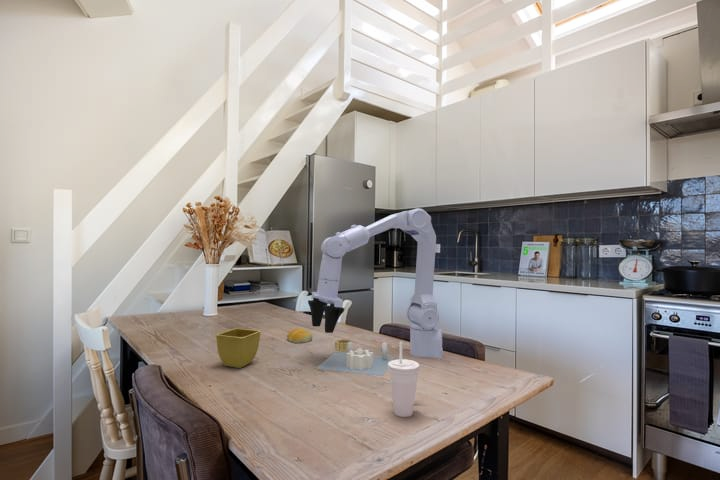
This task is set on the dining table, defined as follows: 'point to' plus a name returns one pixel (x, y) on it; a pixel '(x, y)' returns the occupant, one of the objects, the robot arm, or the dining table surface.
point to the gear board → (340, 364)
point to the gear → (360, 360)
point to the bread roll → (299, 336)
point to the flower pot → (238, 346)
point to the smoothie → (403, 384)
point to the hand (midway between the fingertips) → (322, 329)
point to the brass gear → (342, 345)
